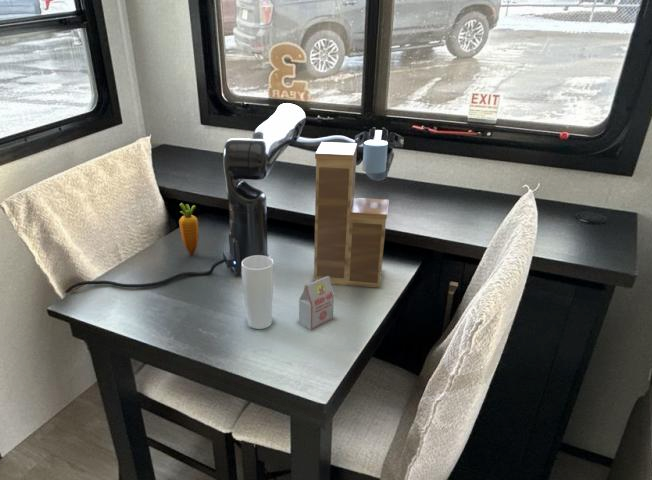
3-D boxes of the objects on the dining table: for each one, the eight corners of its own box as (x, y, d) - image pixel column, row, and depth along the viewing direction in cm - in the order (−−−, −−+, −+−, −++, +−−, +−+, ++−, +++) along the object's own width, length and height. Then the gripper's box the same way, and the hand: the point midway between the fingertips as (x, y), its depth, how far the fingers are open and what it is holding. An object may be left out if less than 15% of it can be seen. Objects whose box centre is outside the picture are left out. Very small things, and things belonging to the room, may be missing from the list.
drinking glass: (272, 333, 116) (270, 270, 109) (241, 330, 118) (237, 268, 110) (278, 316, 122) (276, 256, 115) (248, 314, 123) (245, 253, 116)
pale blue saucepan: (385, 173, 130) (387, 146, 127) (361, 172, 132) (363, 145, 128) (388, 152, 145) (390, 127, 142) (366, 151, 146) (368, 126, 143)
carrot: (204, 253, 151) (200, 202, 143) (193, 261, 147) (187, 208, 140) (190, 250, 153) (185, 198, 146) (179, 256, 150) (172, 204, 142)
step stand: (380, 288, 132) (392, 156, 116) (312, 282, 135) (315, 153, 119) (382, 270, 140) (393, 144, 124) (318, 265, 143) (321, 141, 127)
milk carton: (299, 322, 120) (299, 282, 115) (321, 312, 124) (322, 272, 118) (310, 329, 117) (311, 289, 112) (333, 318, 121) (334, 278, 116)
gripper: (355, 135, 156) (352, 115, 139) (405, 137, 154) (408, 117, 137) (353, 161, 157) (349, 145, 140) (402, 163, 154) (405, 147, 137)
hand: (378, 131), depth 138 cm, fingers closed on pale blue saucepan
